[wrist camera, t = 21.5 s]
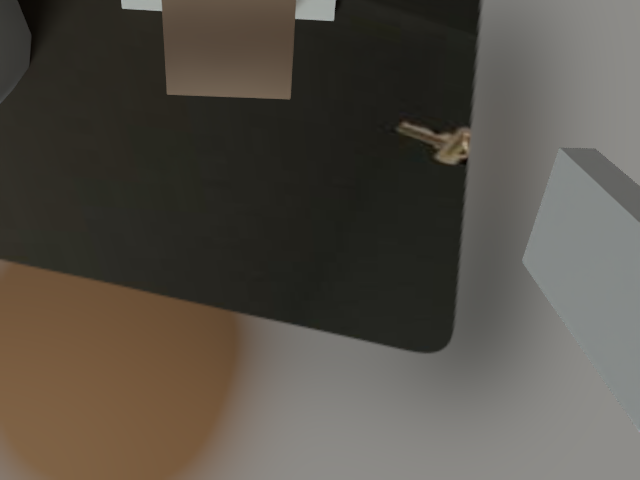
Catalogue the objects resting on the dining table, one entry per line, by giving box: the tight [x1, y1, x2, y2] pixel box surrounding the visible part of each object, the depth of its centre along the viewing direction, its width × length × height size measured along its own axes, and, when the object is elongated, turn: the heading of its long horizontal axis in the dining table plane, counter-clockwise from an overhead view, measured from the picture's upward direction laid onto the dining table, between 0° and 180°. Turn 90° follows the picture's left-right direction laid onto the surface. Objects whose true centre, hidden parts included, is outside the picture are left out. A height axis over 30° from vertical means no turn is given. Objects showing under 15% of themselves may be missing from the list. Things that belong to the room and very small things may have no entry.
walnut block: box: [162, 0, 296, 99], centre depth 26 cm, size 5×5×6 cm
